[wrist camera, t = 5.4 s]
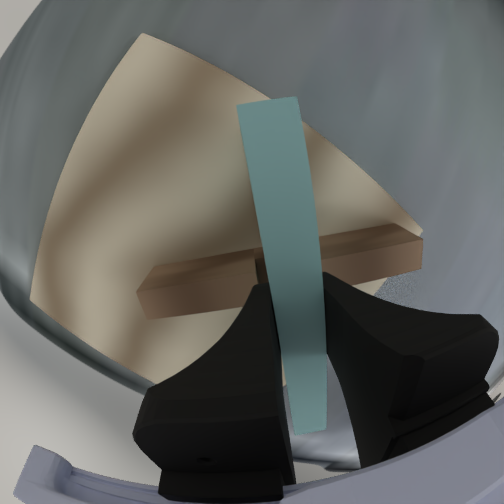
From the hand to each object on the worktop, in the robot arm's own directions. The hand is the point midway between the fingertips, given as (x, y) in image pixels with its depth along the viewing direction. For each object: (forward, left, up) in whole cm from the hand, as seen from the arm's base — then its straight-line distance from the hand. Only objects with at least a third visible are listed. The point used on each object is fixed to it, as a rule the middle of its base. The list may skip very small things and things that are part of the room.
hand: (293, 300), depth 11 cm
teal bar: (0, 0, -4) cm, 4 cm away
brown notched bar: (0, 0, -5) cm, 5 cm away
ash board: (+4, +3, -5) cm, 7 cm away
